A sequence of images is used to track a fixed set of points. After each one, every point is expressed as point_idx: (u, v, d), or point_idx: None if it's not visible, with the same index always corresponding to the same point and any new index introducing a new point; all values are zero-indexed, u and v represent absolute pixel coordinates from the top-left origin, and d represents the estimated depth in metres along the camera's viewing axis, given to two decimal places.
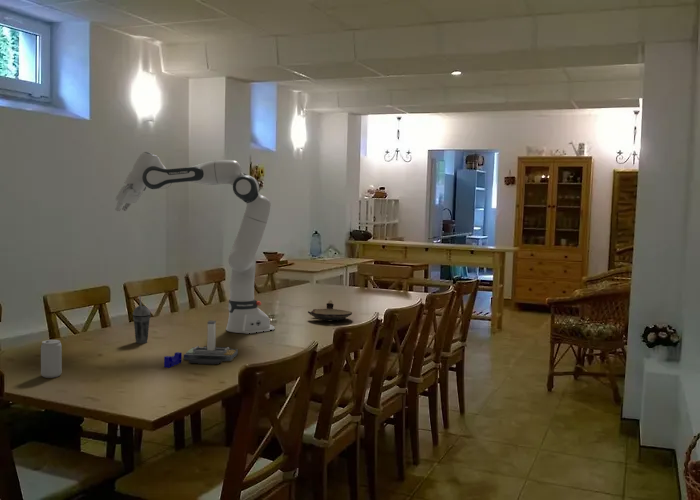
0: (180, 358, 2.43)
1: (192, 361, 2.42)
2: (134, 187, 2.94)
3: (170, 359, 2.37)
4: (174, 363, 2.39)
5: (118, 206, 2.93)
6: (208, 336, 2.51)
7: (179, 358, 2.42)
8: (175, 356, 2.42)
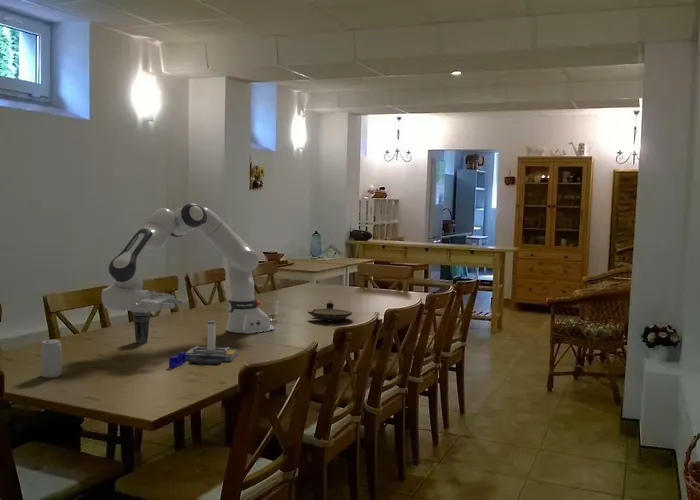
0: (184, 358, 2.43)
1: (192, 361, 2.42)
2: (141, 298, 2.49)
3: (175, 359, 2.37)
4: (179, 363, 2.39)
5: (167, 306, 2.47)
6: (208, 336, 2.51)
7: (183, 358, 2.42)
8: (179, 356, 2.42)
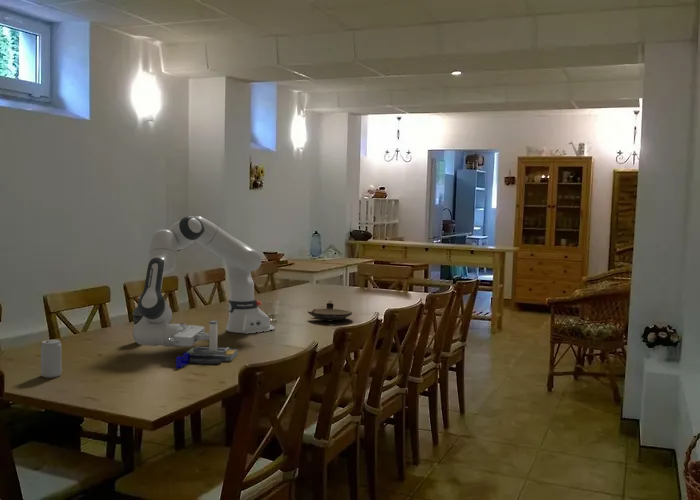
0: (189, 358, 2.43)
1: (192, 361, 2.42)
2: (174, 333, 2.49)
3: (182, 359, 2.37)
4: (185, 363, 2.39)
5: (203, 337, 2.51)
6: (210, 336, 2.51)
7: (188, 358, 2.42)
8: (184, 356, 2.42)
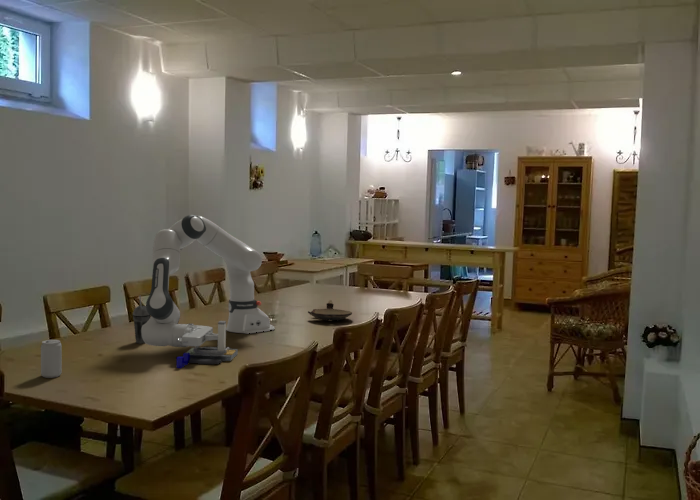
0: (189, 358, 2.43)
1: (192, 361, 2.42)
2: (182, 333, 2.49)
3: (182, 360, 2.37)
4: (185, 363, 2.39)
5: (212, 337, 2.51)
6: (218, 337, 2.51)
7: (188, 358, 2.42)
8: (184, 356, 2.42)
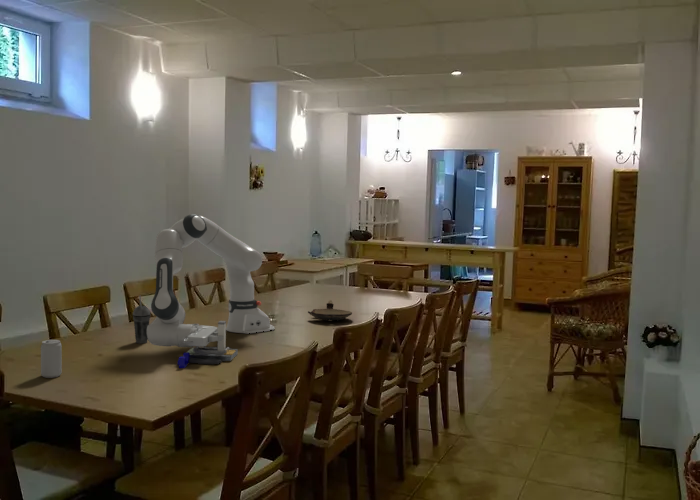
0: (189, 358, 2.43)
1: (192, 361, 2.42)
2: (187, 333, 2.49)
3: (185, 359, 2.37)
4: (186, 363, 2.40)
5: (216, 338, 2.49)
6: None
7: (188, 358, 2.43)
8: (184, 356, 2.42)
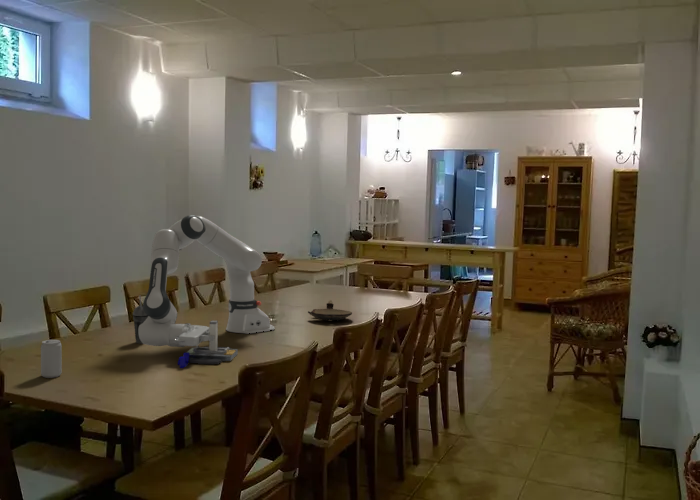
0: (189, 358, 2.44)
1: (192, 361, 2.42)
2: (179, 333, 2.49)
3: (186, 359, 2.37)
4: (187, 363, 2.40)
5: (208, 338, 2.49)
6: None
7: (188, 358, 2.43)
8: (184, 356, 2.42)
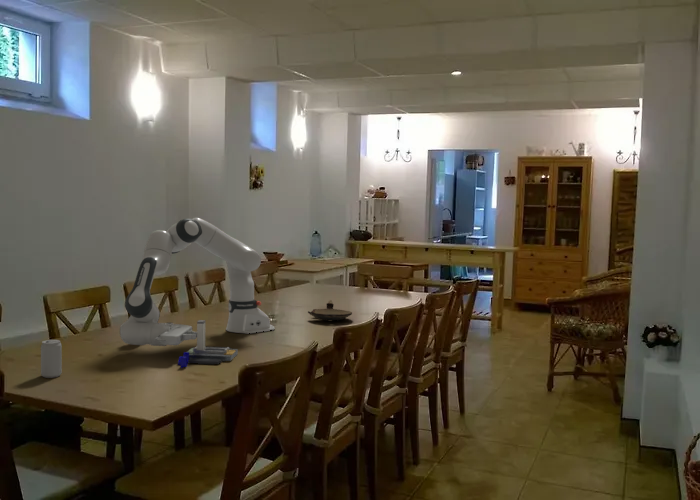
0: None
1: (192, 361, 2.42)
2: (161, 332, 2.49)
3: (186, 359, 2.37)
4: (187, 363, 2.40)
5: (189, 337, 2.50)
6: (198, 336, 2.51)
7: (188, 358, 2.43)
8: (184, 356, 2.42)
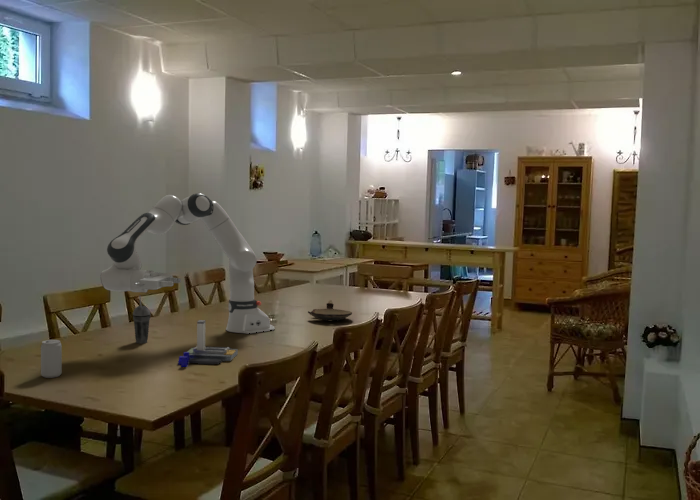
0: None
1: (192, 361, 2.42)
2: (140, 278, 2.53)
3: (187, 359, 2.38)
4: None
5: (166, 284, 2.51)
6: (198, 336, 2.51)
7: (188, 358, 2.43)
8: None
